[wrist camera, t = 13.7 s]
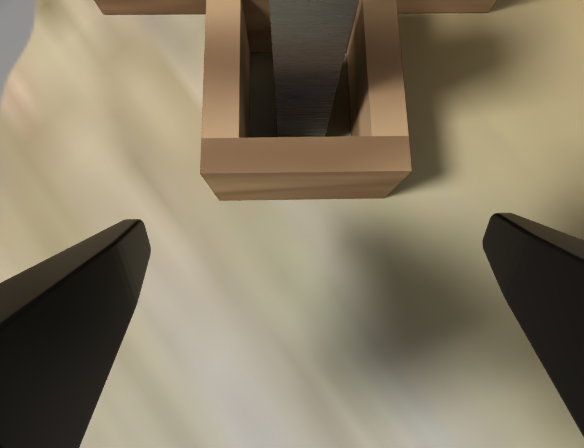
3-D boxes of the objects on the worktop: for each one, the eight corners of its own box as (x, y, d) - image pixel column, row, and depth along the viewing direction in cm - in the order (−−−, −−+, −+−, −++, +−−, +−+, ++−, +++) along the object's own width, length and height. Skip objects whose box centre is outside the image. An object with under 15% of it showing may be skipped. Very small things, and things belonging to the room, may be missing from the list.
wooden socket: (516, 196, 18) (789, 77, 8) (83, 202, 18) (-172, 85, 8) (481, -32, 21) (655, -323, 11) (107, -30, 20) (-58, -331, 11)
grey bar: (323, 143, 18) (404, -198, 6) (277, 143, 18) (256, -198, 6) (321, 75, 19) (387, -358, 7) (277, 75, 19) (257, -359, 6)
